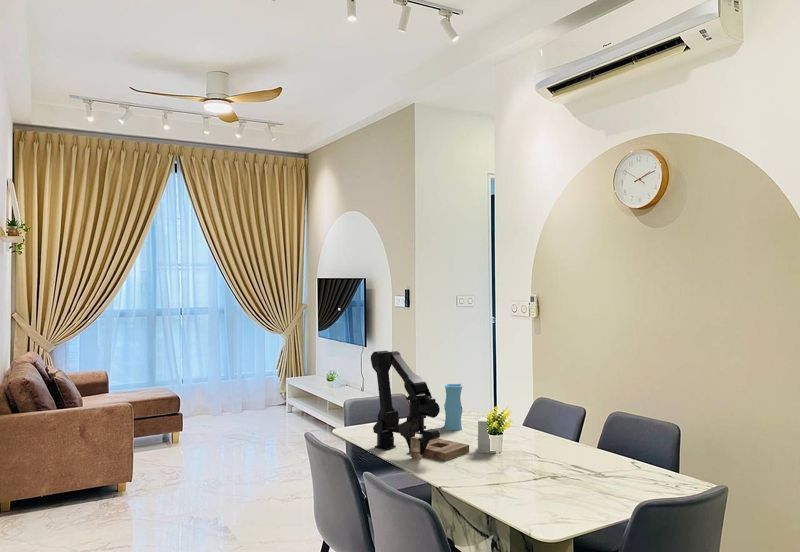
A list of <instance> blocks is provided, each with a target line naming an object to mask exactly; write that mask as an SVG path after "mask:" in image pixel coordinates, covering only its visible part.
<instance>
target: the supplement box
mask: <svg viewBox="0 0 800 552" xmlns="http://www.w3.org/2000/svg"><path fill="white" fill-rule="evenodd" d="M487 418H488V417H478V421H477V422H478V423H477V453H481V454H496V453H497V450H496V451H490V439H489V435H488V432H487Z"/></svg>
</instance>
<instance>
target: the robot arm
mask: <svg viewBox="0 0 800 552" xmlns="http://www.w3.org/2000/svg"><path fill="white" fill-rule="evenodd" d="M370 362H371V367H372V368H373V371H375V373H376V378H377V387H378V388H377V389H378V398H379V406H380V409H379V412H378V413H377V421H376V422H375V424H374V425H373V427H372V428H373V429H372V430H373V434H377V435H376V436H377V437H376V445H374V448H376V449H380V450H384V451H387V450H390V449H391V450H392V449H394V448H396V447H397V446H396V444H395V436H394V433H396V434H399V435H400V436H401V437H403V438H404V439H405V442H406V444H407V447H408V451H409V450H411V437H416V434H418V435H421V436H420V437H421V438H418V440H419V441H420V455H423V453H424V451H425V449H426V447H427V445H428V443H429V441H430V440H433V439H436V438H439V439H441V433H440V430H439V429H434V428H429V429H427V426H426V425H425V419H426V418H427V417H429V418H432V419H434V418H437V417H438V415H439V413H440V411H441V409H440V405H439V403H438V402H436V400H437V399H436V398H433V396H432V393H431V391H430V389H429V387H428V384H427V382H426V381H425V380H424V379H423V378H422V377H421V376H420V375H417V374H415V372H413V370H412V369H411V368H410V366H409V365H408V364H407V363H406V361H405V360H404V359H403V357H402V355H401V353H400V351H396V350H392V351H389V350H379V351H378V350H377V351H373V352H372V353H371V355H370ZM392 367H393V368H394V370H395V371H396V373H397V374H398V375H399V377H400V378H401V379H402V381H403V384H404V385H403V388H404V389H405V391H406V393H407V394H408V396H406V398H405V400H406V401H409V402H408V403H409V409H408V412H409V413H408V415H406V416H407V417H406V421H404V422H402V423H400V417H399V411H398V410H395V408H394V406H393V399H392V392H391V391H392V389H391V382H390V380H391V379H390V370H391V368H392ZM410 454H411V452H410Z"/></svg>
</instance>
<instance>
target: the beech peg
mask: <svg viewBox="0 0 800 552" xmlns="http://www.w3.org/2000/svg"><path fill="white" fill-rule="evenodd" d="M418 438H421V436H415V437H411V450H410V452H411V453H410V458H411V460H412V461H421V460H422V458H423V457H424V456H423V455H420V441H419V440H418Z"/></svg>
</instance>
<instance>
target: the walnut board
mask: <svg viewBox="0 0 800 552" xmlns="http://www.w3.org/2000/svg"><path fill="white" fill-rule="evenodd" d="M408 453H410V450H409V449H408ZM468 453H470V444H466V443H462V442H457V441H453V440H452V441H451V440H448V439H443V438H436V439H433V440H430V441H429V443H428V445H427V447H426V449H425V451H424V453H423V457H426V458H431V459H435V460H439V461H444V462H448V461H450V460H452V459H456V458H457V457H460V456H464V455H466V454H468ZM410 454H411V453H410Z"/></svg>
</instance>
